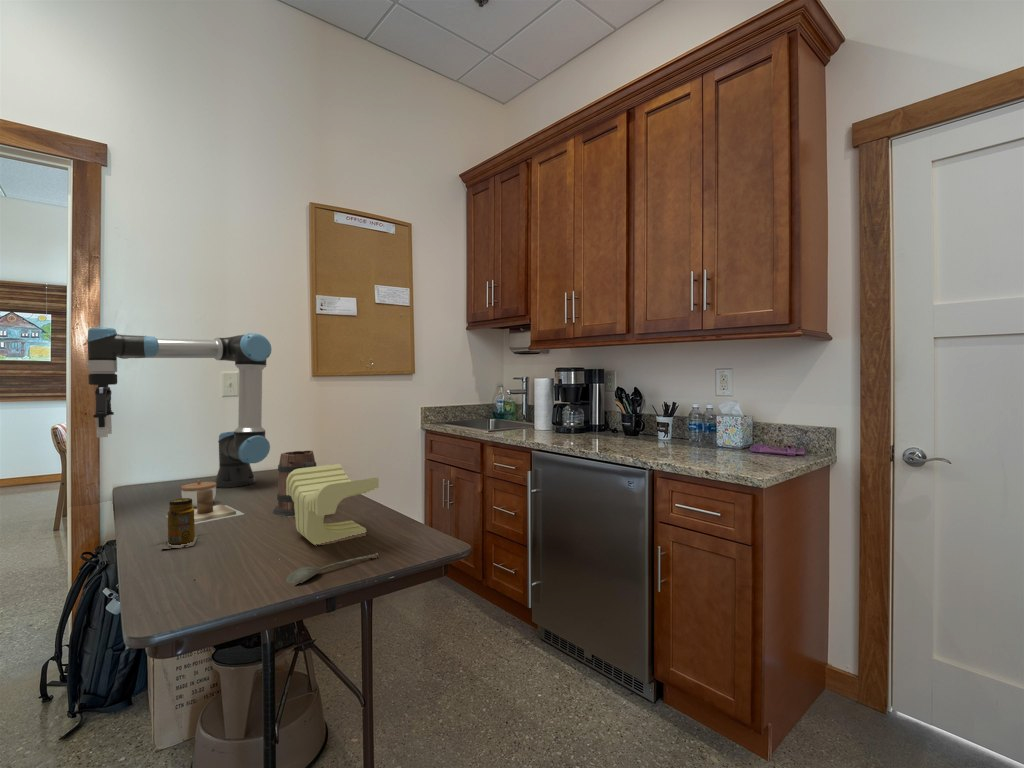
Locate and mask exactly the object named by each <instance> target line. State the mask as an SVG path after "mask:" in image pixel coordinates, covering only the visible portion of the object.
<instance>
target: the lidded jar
mask: <svg viewBox="0 0 1024 768" xmlns="http://www.w3.org/2000/svg"><path fill="white" fill-rule="evenodd" d="M206 489H212V490H213V501H214V500H215V498H216V493H217V487H216V483H215V481H214V482H213V481H201V479H197V481H196V482H193V483H188V484H184V485H181V486H180V490H181V493H180V494H181V498H191V499H192V504H193V506H192V507H193V508H197V491H200V490H206Z"/></svg>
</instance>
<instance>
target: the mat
mask: <svg viewBox="0 0 1024 768" xmlns="http://www.w3.org/2000/svg"><path fill="white" fill-rule="evenodd" d="M224 506H226V507H228V508H230V509H232V510H235V511H236V514H235V515H230V516H225V517H220V518H214V519H209V520H204V521H199V522H194V523H195V524H194V525H197V524H202V523H207V522H212V521H217V520H222V519H228V518H233V517H237V516H242V515H245V513H244V512H241V511H240V510H238V509H235V508H233V507H231V506H229V505H224ZM165 518H167V519H168V515H165Z"/></svg>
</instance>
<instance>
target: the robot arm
mask: <svg viewBox="0 0 1024 768" xmlns="http://www.w3.org/2000/svg"><path fill="white" fill-rule="evenodd" d="M86 342H87V359H88V362H87V363H85V366H86V367H88V368H87V369H88V373H89V375H88V384H89V386H97V387H96V388H95V391H94V394H95V413H94V414H93V418H96V419H95V420H96V424H95V425H96V438H98V439H99V438H108V435H109V434H111V435H112V431H113V430H112V415H113V416H114V414H115V413H114V411H113V410H112V404H111V403H112V402H111V401H112V390H111V387H110V386H109V385H117V384H118V374H117V372H118V359H123V360H125V359H126V360H127V359H215V361H226V362H227V361H228V362H234V366H235V368H237V369H238V371H239V372H238V373H239V374H238V417H237V418H238V419H237V420H238V423H237V425H238V427H236V429H234V430H233V431H227V432H225V431H224V432H221V433H220V434H219V435H218V440H217V442H218V460H219V461H218V462H219V464H218V466H219V467H218V470H217V474H216V476H215V480H214V482H215V483H216V488H227V489H228V488H237V487H238V486H239V487H245V486H248V484H249V485H252V484H254V483H255V482H256V477H255V474H254V472H253V469H252V467H251V464H258V463H261V462H262V461H264V459H266V457H268V455H269V453H270V450H271V444H270V441H269V440H268V438H266V429H265V428H264V427H263V426H262V420H263V419H262V410H263V409H262V405H263V404H262V403H263V401H262V399H263V371H264V369H265V368H266V367H267V359H268V358H269V357H270V356H271V354H272V345H271V342H270V340H269V339H268V338H267V337H266V336H264V335H262V334H260V333H246V334H239V335H233V336H230V337H229V336H228V337H216V338H214V339H188V338H187V339H185V338H183V339H180V338H179V339H177V338H176V339H175V338H157V337H155V336H149V335H134V334H133V335H129V334H125V335H124V334H119V333H117V330H116V328H112V327H102V326H101V327H100V326H99V327H97V326H96V327H90V328H89V329H88V331H87V339H86ZM117 358H118V359H117ZM244 485H245V486H244ZM239 487H238V488H239Z"/></svg>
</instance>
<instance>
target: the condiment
mask: <svg viewBox="0 0 1024 768" xmlns="http://www.w3.org/2000/svg"><path fill="white" fill-rule="evenodd" d="M168 505H169V507H168V509H169V511H168V512H167V516H168V518H167V541H168V543H169V544H171V545H181V544H187V543H190V542H193V541H194V538H196V536H195V533H196V532H195V525H196V524H195V523H194V509H195V507H192V506H193V504H192V499H191V498H182V497H181V498H176V499H172V500H170V501H169V503H168Z"/></svg>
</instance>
